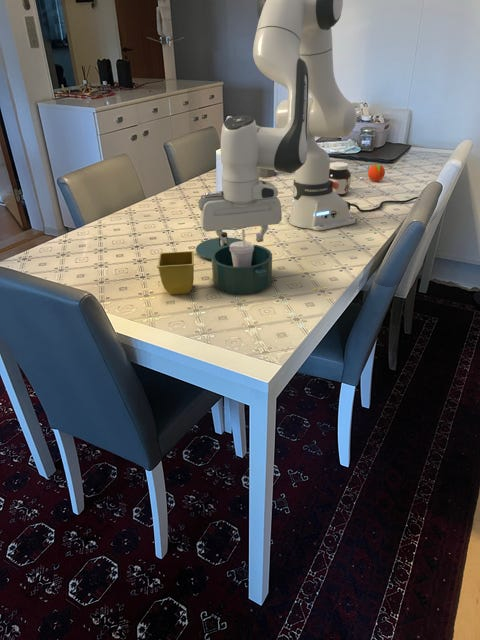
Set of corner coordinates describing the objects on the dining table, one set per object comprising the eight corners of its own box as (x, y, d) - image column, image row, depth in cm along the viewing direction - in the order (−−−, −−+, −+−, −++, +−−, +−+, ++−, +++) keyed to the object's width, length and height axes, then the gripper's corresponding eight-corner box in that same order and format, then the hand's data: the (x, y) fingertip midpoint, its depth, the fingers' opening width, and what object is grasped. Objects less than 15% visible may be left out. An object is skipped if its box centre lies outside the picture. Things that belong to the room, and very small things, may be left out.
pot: (247, 260, 142) (247, 236, 138) (289, 289, 126) (289, 262, 122) (199, 273, 135) (197, 248, 132) (236, 305, 120) (235, 277, 116)
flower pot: (163, 283, 131) (159, 252, 126) (196, 281, 131) (193, 250, 127) (161, 299, 123) (157, 266, 119) (196, 297, 124) (193, 264, 119)
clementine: (386, 184, 205) (388, 166, 202) (369, 184, 205) (371, 167, 202) (381, 178, 212) (383, 162, 208) (365, 179, 212) (367, 162, 209)
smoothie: (248, 286, 127) (248, 235, 120) (226, 282, 129) (224, 232, 122) (258, 276, 132) (257, 226, 125) (236, 272, 134) (235, 223, 127)
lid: (234, 237, 158) (233, 220, 155) (261, 254, 146) (261, 236, 143) (187, 248, 151) (185, 230, 148) (211, 267, 139) (210, 248, 136)
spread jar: (336, 199, 189) (338, 168, 183) (313, 192, 197) (315, 163, 191) (355, 192, 196) (358, 162, 190) (333, 186, 204) (335, 158, 197)
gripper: (199, 197, 114) (203, 252, 121) (284, 189, 117) (283, 243, 125) (196, 189, 119) (199, 242, 126) (276, 182, 123) (276, 234, 130)
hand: (241, 243), depth 125 cm, fingers open, 8 cm apart
